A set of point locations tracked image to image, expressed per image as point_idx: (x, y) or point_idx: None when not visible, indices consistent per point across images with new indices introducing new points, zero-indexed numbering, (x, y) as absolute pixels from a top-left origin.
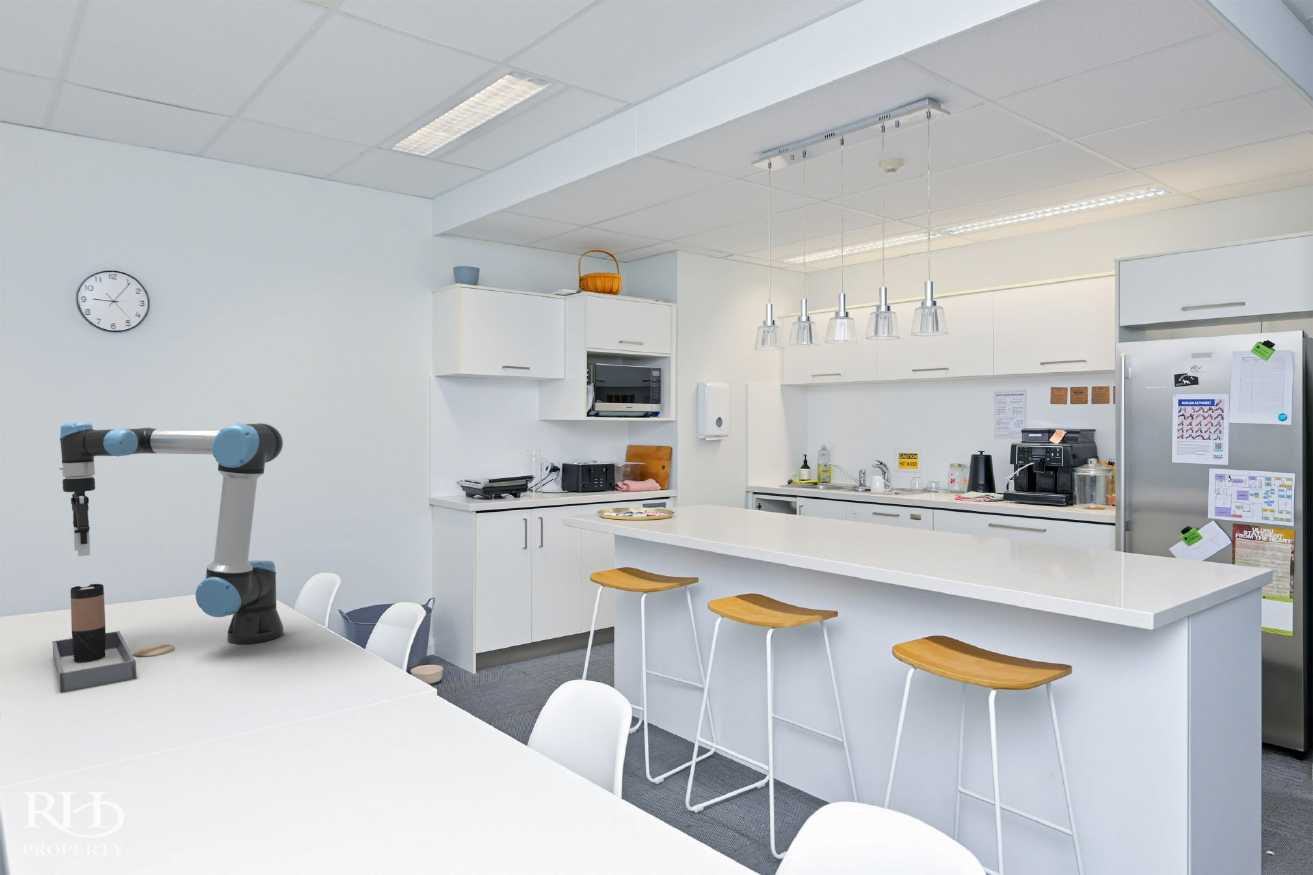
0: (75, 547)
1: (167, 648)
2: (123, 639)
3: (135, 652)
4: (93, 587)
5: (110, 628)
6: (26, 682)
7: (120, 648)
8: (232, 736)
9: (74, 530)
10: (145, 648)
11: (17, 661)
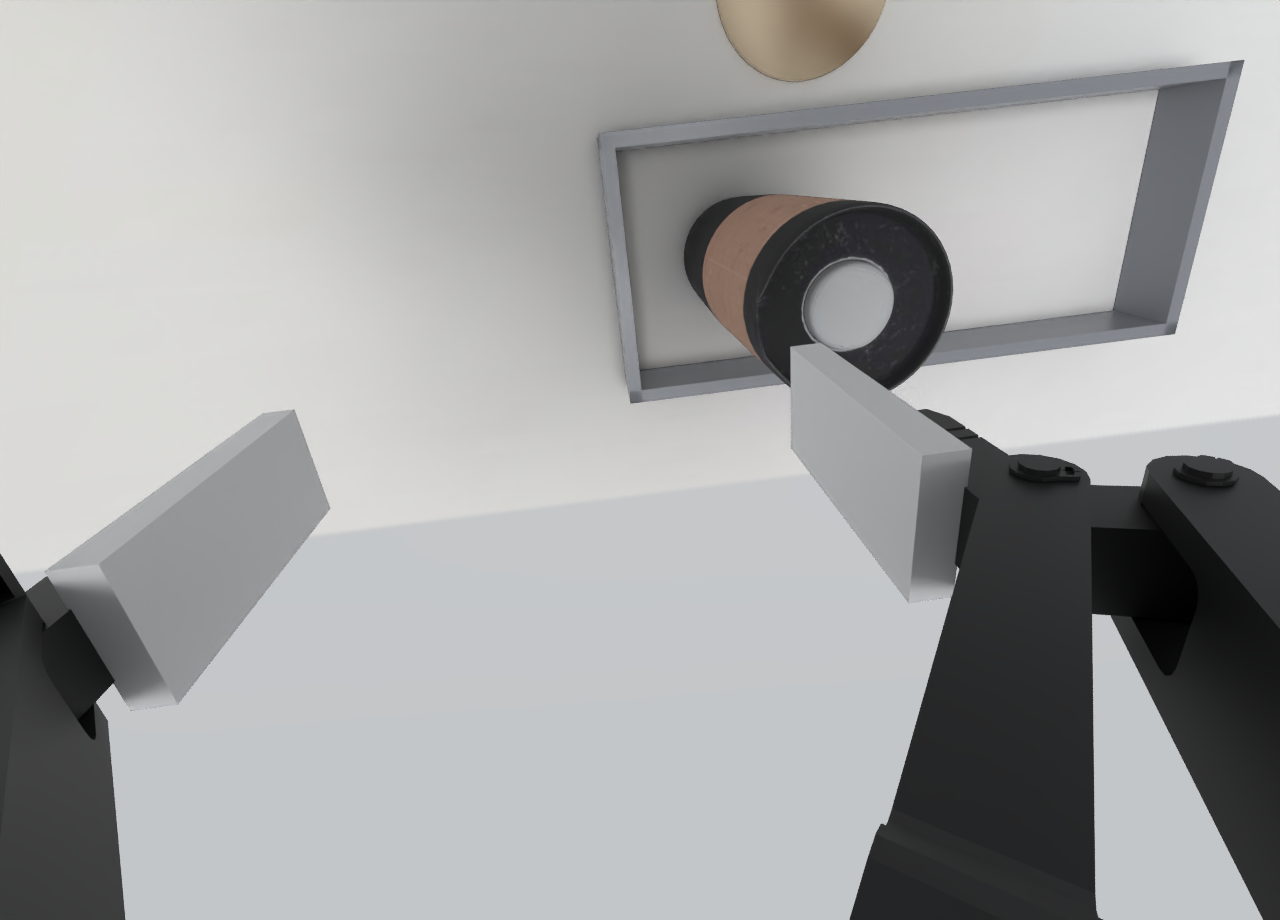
0: (316, 520)
1: None
2: (802, 112)
3: (796, 67)
4: (862, 269)
5: (176, 187)
6: None
7: (770, 132)
8: None
9: (199, 669)
10: (751, 17)
11: (613, 482)
